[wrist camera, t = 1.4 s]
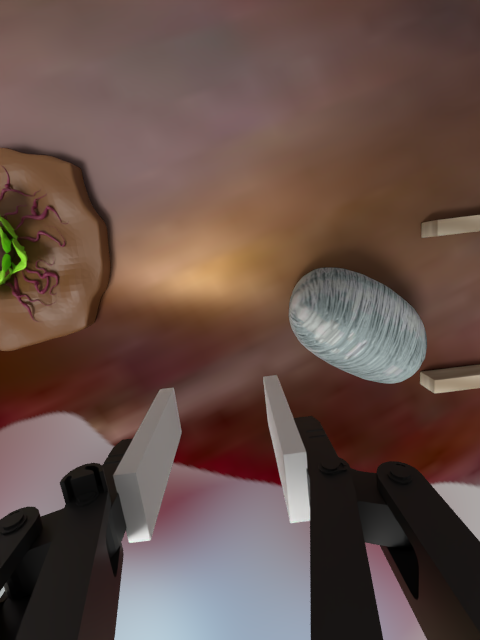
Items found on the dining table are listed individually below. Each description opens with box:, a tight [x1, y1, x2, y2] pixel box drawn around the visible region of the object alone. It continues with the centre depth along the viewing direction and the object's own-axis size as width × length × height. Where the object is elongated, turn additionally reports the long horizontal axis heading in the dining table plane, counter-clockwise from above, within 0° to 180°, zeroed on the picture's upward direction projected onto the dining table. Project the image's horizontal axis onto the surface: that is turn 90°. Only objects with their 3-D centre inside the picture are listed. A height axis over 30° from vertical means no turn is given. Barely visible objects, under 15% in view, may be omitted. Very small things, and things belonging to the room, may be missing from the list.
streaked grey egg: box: [289, 268, 427, 383], centre depth 29 cm, size 14×10×10 cm
